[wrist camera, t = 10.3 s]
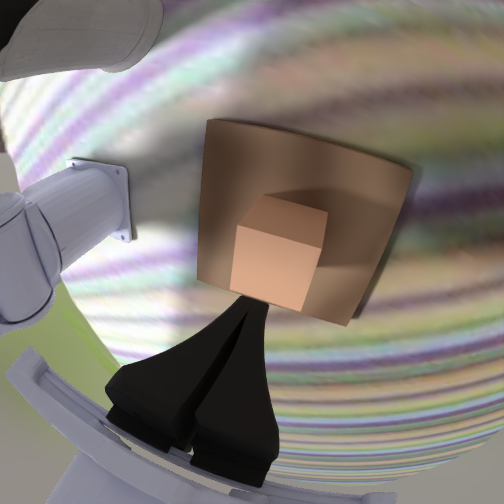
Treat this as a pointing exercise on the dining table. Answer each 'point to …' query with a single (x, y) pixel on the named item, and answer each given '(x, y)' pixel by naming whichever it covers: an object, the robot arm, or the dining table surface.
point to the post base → (304, 193)
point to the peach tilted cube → (277, 251)
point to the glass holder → (75, 35)
